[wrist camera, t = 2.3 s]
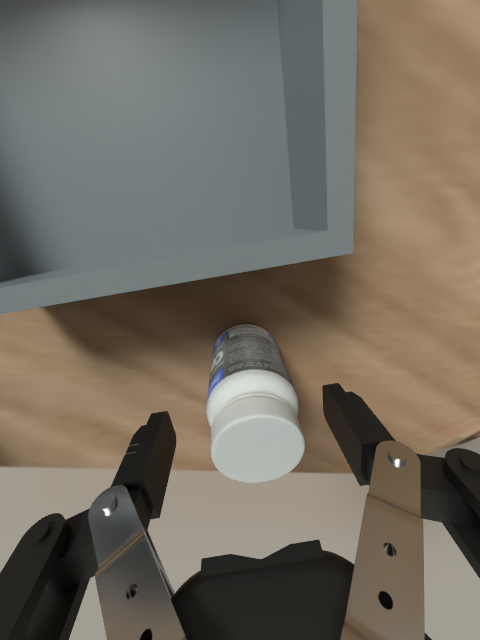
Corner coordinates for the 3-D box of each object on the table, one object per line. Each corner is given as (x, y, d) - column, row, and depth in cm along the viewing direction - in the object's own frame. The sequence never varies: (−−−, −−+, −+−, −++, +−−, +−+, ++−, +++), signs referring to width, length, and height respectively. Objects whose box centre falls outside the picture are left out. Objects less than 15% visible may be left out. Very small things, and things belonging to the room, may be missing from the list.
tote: (282, -199, 9) (371, -881, 3) (306, 242, 15) (353, 253, 9) (-177, -105, 9) (-787, -602, 4) (26, 291, 15) (-90, 329, 10)
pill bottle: (209, 325, 17) (193, 412, 9) (276, 320, 17) (318, 402, 9) (216, 381, 19) (207, 495, 11) (276, 376, 19) (312, 486, 11)
